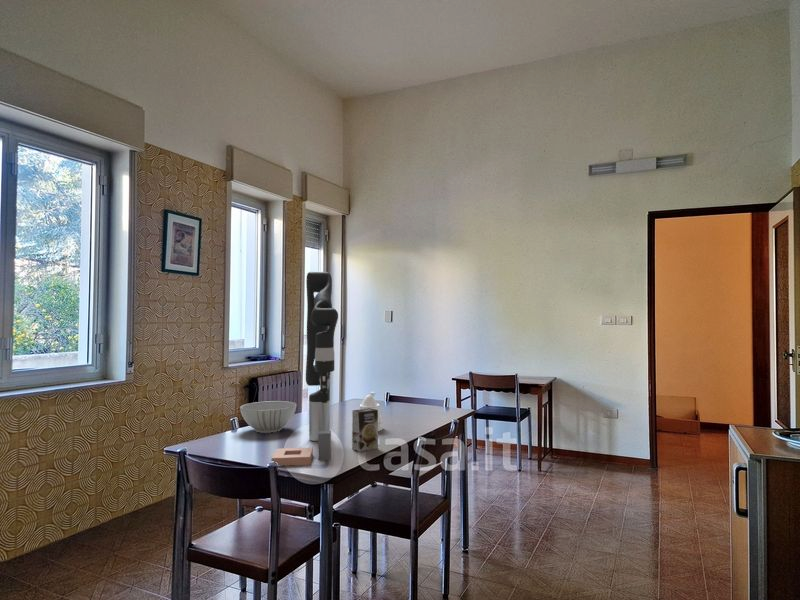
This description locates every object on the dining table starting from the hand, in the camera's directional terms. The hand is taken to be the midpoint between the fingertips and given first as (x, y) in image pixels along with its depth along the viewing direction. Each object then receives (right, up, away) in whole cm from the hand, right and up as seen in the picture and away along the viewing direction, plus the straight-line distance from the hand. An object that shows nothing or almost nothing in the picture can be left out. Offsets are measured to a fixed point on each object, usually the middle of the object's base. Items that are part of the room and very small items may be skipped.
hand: (324, 400), depth 201 cm
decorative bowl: (-35, -24, +50) cm, 66 cm away
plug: (0, -22, -1) cm, 22 cm away
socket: (-12, -22, -4) cm, 25 cm away
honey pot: (+14, -24, +51) cm, 58 cm away
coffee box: (+15, -23, +13) cm, 30 cm away
